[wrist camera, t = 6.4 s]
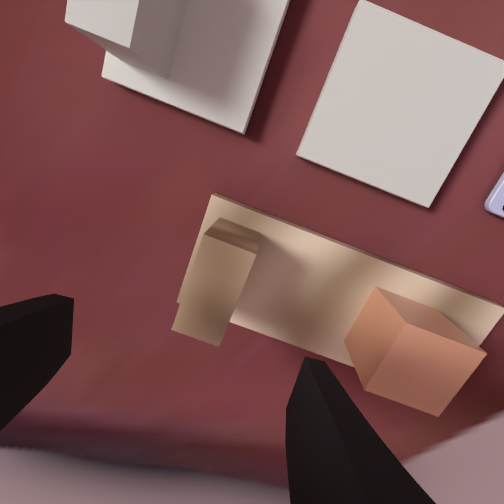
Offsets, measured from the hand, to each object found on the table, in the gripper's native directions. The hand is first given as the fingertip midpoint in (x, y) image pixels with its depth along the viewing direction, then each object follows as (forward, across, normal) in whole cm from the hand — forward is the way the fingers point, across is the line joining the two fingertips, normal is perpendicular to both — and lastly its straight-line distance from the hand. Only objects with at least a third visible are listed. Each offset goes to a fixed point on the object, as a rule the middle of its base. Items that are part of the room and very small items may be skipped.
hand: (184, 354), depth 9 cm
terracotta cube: (+8, -10, +1) cm, 13 cm away
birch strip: (+9, -7, +1) cm, 12 cm away
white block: (+9, -1, -10) cm, 14 cm away
